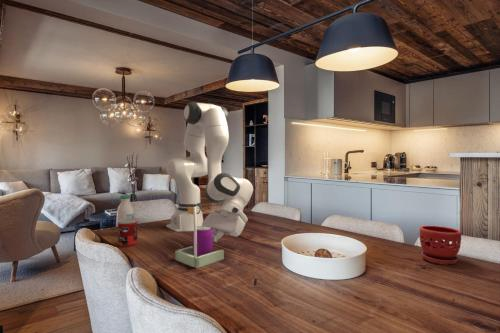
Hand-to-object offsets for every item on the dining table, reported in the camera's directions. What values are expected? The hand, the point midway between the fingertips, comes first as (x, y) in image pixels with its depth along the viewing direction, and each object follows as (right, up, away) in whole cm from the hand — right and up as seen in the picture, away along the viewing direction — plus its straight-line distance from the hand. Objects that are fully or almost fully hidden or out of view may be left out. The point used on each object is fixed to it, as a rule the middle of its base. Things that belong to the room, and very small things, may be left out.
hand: (212, 240), depth 121 cm
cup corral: (-5, -6, -4) cm, 9 cm away
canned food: (-40, -6, +16) cm, 44 cm away
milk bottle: (-48, -5, +35) cm, 60 cm away
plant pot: (+85, -6, -8) cm, 86 cm away
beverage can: (-3, -6, -3) cm, 8 cm away
